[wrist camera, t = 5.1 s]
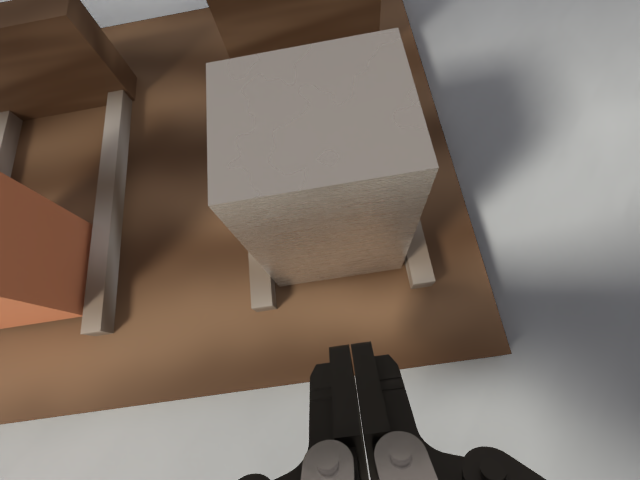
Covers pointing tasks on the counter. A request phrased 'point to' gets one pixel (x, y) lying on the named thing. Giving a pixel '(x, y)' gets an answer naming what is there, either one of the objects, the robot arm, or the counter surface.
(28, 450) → the counter surface
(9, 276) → the terracotta slider
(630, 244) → the counter surface
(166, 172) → the board
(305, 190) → the steel slider
